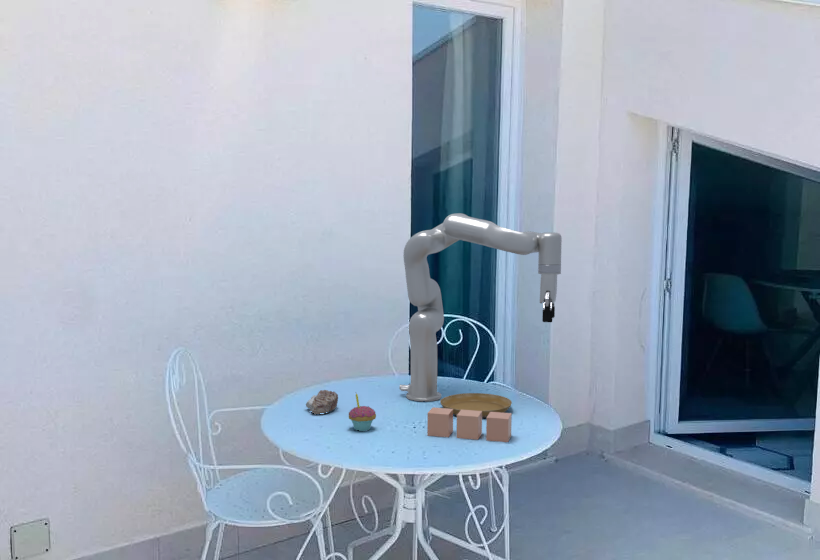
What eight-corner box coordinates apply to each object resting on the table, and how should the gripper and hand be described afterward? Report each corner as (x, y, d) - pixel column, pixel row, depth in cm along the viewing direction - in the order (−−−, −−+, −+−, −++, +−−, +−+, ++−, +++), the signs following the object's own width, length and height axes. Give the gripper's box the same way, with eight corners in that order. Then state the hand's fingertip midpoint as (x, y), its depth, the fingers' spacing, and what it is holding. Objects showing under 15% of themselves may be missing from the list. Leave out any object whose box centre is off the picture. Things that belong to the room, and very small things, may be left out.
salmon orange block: (486, 440, 234) (486, 417, 233) (490, 434, 240) (490, 411, 240) (508, 442, 232) (508, 419, 232) (511, 435, 239) (511, 413, 238)
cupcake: (355, 434, 240) (354, 395, 239) (344, 427, 247) (343, 389, 246) (380, 430, 244) (380, 392, 243) (369, 423, 251) (368, 386, 250)
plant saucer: (430, 404, 275) (430, 395, 275) (492, 399, 283) (493, 390, 282) (456, 423, 252) (456, 413, 252) (524, 416, 260) (524, 407, 260)
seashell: (309, 396, 275) (323, 373, 272) (332, 409, 275) (346, 387, 272) (299, 415, 261) (314, 391, 258) (324, 429, 262) (338, 406, 259)
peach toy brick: (427, 435, 239) (427, 412, 238) (432, 429, 245) (432, 407, 244) (448, 437, 237) (448, 414, 236) (453, 431, 243) (453, 408, 243)
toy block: (456, 438, 236) (456, 415, 236) (461, 431, 243) (461, 409, 242) (478, 439, 235) (478, 416, 234) (481, 433, 241) (482, 411, 240)
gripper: (540, 266, 274) (539, 315, 276) (535, 271, 257) (534, 323, 259) (562, 267, 272) (561, 316, 274) (559, 272, 255) (558, 324, 257)
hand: (548, 319), depth 267 cm, fingers open, 9 cm apart
